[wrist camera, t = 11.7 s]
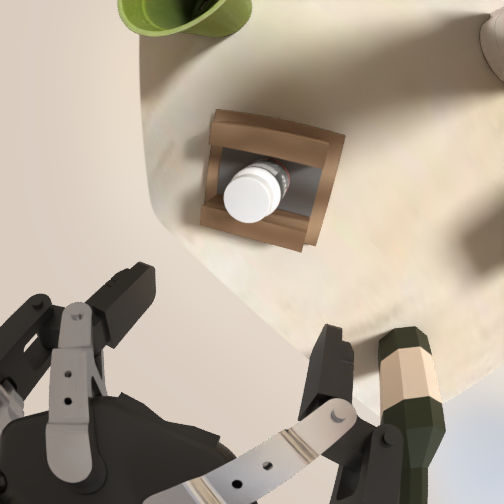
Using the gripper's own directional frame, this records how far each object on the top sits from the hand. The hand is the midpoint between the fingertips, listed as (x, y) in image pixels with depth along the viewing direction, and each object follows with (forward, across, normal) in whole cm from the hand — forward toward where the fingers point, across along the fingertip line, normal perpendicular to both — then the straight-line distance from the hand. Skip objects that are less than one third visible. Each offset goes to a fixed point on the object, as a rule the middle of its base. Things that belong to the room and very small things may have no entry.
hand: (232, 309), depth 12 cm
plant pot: (+23, +13, -19) cm, 32 cm away
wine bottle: (+22, -22, +19) cm, 37 cm away
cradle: (+22, +3, 0) cm, 22 cm away
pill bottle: (+21, +3, 0) cm, 21 cm away
